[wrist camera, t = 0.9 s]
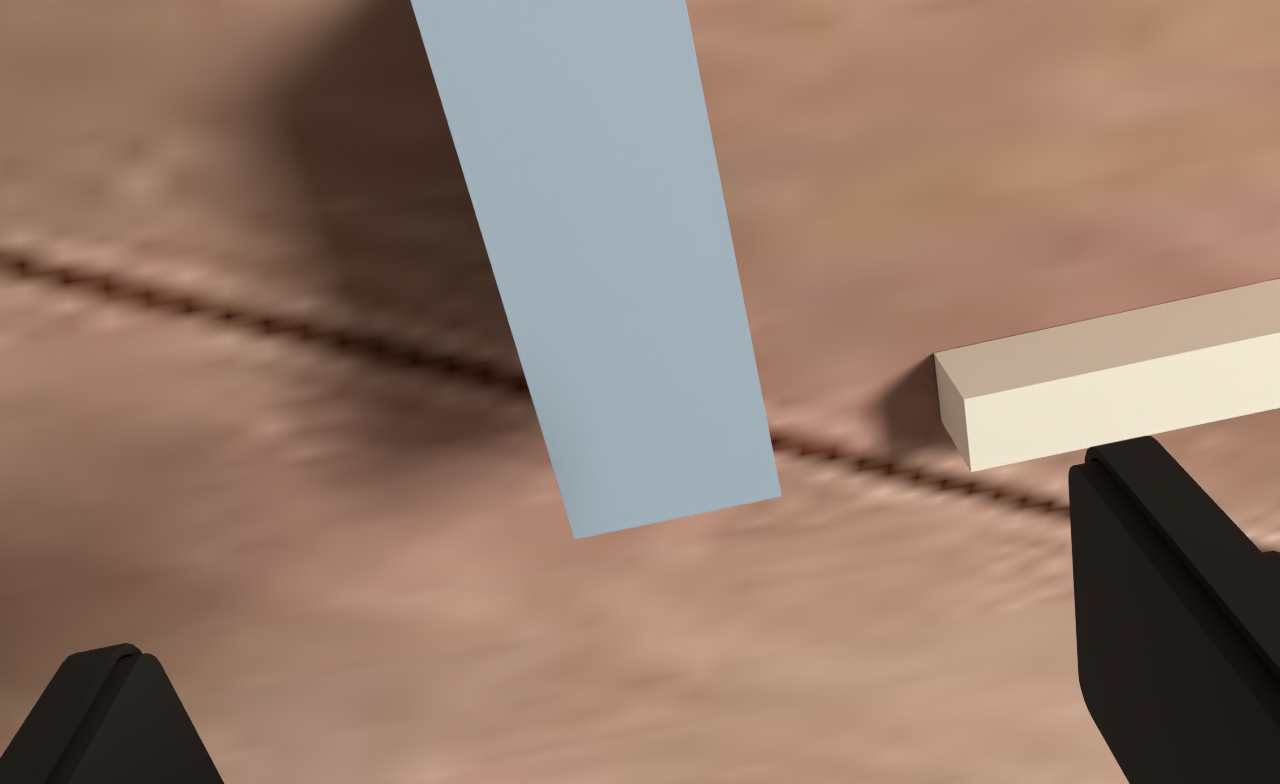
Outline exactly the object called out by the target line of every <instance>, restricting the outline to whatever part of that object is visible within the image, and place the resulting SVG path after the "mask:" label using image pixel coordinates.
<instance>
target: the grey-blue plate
mask: <svg viewBox="0 0 1280 784" xmlns="http://www.w3.org/2000/svg"><path fill="white" fill-rule="evenodd" d="M411 3H412V6H413V10H414V13H415V16H416V20H417V23H418V26H419V29H420V33H421V36H422V39H423V43H424V46H425V49H426V52H427V56H428V59H429V62H430V66H431V69H432V72H433V75H434V79H435V82H436V85H437V89H438V92H439V95H440V98H441V102H442V105H443V108H444V112H445V115H446V118H447V121H448V125H449V128H450V131H451V135H452V138H453V141H454V144H455V148H456V151H457V154H458V158H459V161H460V164H461V167H462V171H463V174H464V177H465V181H466V184H467V187H468V190H469V194H470V197H471V200H472V204H473V207H474V210H475V213H476V217H477V220H478V223H479V227H480V230H481V233H482V236H483V240H484V243H485V246H486V250H487V253H488V256H489V259H490V263H491V266H492V269H493V273H494V276H495V279H496V282H497V286H498V289H499V292H500V296H501V299H502V302H503V305H504V309H505V312H506V315H507V318H508V322H509V325H510V328H511V332H512V335H513V338H514V341H515V345H516V348H517V351H518V355H519V358H520V361H521V364H522V368H523V371H524V374H525V378H526V381H527V384H528V387H529V391H530V394H531V397H532V401H533V404H534V407H535V410H536V414H537V417H538V420H539V424H540V427H541V430H542V433H543V437H544V440H545V443H546V447H547V450H548V453H549V456H550V460H551V463H552V466H553V470H554V473H555V476H556V479H557V483H558V486H559V489H560V493H561V496H562V499H563V502H564V506H565V509H566V512H567V516H568V519H569V522H570V525H571V529H572V532H573V535H574V539H580V538H584V537H589V536H594V535H599V534H604V533H608V532H613V531H618V530H623V529H628V528H632V527H637V526H642V525H647V524H651V523H656V522H661V521H666V520H671V519H675V518H680V517H685V516H690V515H695V514H699V513H704V512H709V511H714V510H718V509H723V508H728V507H733V506H738V505H742V504H747V503H752V502H757V501H761V500H766V499H771V498H776V497H781V496H782V495H781V490H780V485H779V480H778V475H777V470H776V465H775V459H774V454H773V449H772V444H771V439H770V434H769V428H768V423H767V418H766V413H765V408H764V403H763V398H762V392H761V387H760V382H759V377H758V372H757V367H756V362H755V356H754V351H753V346H752V341H751V336H750V331H749V326H748V320H747V315H746V310H745V305H744V300H743V295H742V290H741V284H740V279H739V274H738V269H737V264H736V259H735V253H734V248H733V243H732V238H731V233H730V228H729V223H728V217H727V212H726V207H725V202H724V197H723V192H722V187H721V181H720V176H719V171H718V166H717V161H716V156H715V151H714V145H713V140H712V135H711V130H710V125H709V120H708V115H707V109H706V104H705V99H704V94H703V89H702V84H701V78H700V73H699V68H698V63H697V58H696V53H695V48H694V42H693V37H692V32H691V27H690V22H689V17H688V12H687V6H686V1H685V0H411Z"/></svg>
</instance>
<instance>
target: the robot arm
mask: <svg viewBox="0 0 1280 784" xmlns="http://www.w3.org/2000/svg"><path fill="white" fill-rule="evenodd" d="M1069 501H1070V520H1071V539H1072V559H1073V578H1074V597H1075V617H1076V636H1077V656H1078V674H1079V682H1080V687H1081V691H1082V694H1083V698H1084V701H1085V703H1086V706H1087V708H1088V710H1089V712H1090V714H1091V716H1092V718H1093V720H1094V722H1095V723H1096V725H1097V727H1098V729H1099V730H1100V732H1101V734H1102V736H1103V738H1104V739H1105V741H1106V743H1107V745H1108V746H1109V748H1110V750H1111V752H1112V753H1113V755H1114V757H1115V759H1116V760H1117V762H1118V764H1119V766H1120V767H1121V769H1122V771H1123V773H1124V775H1125V776H1126V778H1127V780H1128V782H1129V783H1130V784H1280V552H1276V551H1269V552H1264V553H1262V552H1261V551H1260V550H1259V549H1258V548H1257V547H1256V546H1255V545H1254V543H1253V542H1252V541H1251V540H1250V539H1249V538H1248V537H1247V536H1246V535H1245V534H1244V533H1243V532H1242V531H1241V530H1240V529H1239V527H1238V526H1237V525H1236V524H1235V523H1234V522H1233V521H1232V520H1231V519H1230V518H1229V517H1228V516H1227V515H1226V514H1225V513H1224V511H1223V510H1222V509H1221V508H1220V507H1219V506H1218V505H1217V504H1216V503H1215V502H1214V501H1213V500H1212V499H1211V498H1210V497H1209V496H1208V494H1207V493H1206V492H1205V491H1204V490H1203V489H1202V488H1201V487H1200V486H1199V485H1198V484H1197V483H1196V482H1195V481H1194V480H1193V478H1192V477H1191V476H1190V475H1189V474H1188V473H1187V472H1186V471H1185V470H1184V469H1183V468H1182V467H1181V466H1180V465H1179V464H1178V462H1177V461H1176V460H1175V459H1174V458H1173V457H1172V456H1171V455H1170V454H1169V453H1168V452H1167V451H1166V450H1165V449H1164V448H1163V446H1162V445H1161V444H1160V443H1159V442H1158V441H1157V440H1155V439H1154V438H1153V437H1151V436H1142V437H1137V438H1132V439H1127V440H1122V441H1117V442H1112V443H1107V444H1102V445H1097V446H1092V447H1090V448H1089V449H1088V450H1087V452H1086V456H1085V463H1084V464H1079V465H1074V466H1072V467H1071V468H1070V470H1069ZM0 784H224V782H223V780H222V778H221V776H220V775H219V773H218V771H217V769H216V767H215V765H214V763H213V761H212V760H211V758H210V756H209V754H208V752H207V750H206V748H205V746H204V744H203V743H202V741H201V739H200V737H199V735H198V733H197V731H196V729H195V727H194V726H193V724H192V722H191V720H190V718H189V716H188V714H187V712H186V710H185V709H184V707H183V705H182V703H181V701H180V699H179V697H178V695H177V693H176V692H175V690H174V688H173V686H172V684H171V682H170V680H169V678H168V676H167V675H166V673H165V671H164V669H163V667H162V665H161V663H160V662H159V661H158V659H157V658H156V657H155V656H153V655H152V654H147V653H145V654H142V652H141V651H140V650H139V649H138V648H137V647H135V646H134V645H133V644H127V643H124V644H119V645H114V646H109V647H104V648H99V649H94V650H89V651H84V652H79V653H75V654H73V655H70V656H68V658H67V659H66V660H65V661H64V662H63V663H62V664H61V666H60V667H59V669H58V671H57V672H56V674H55V675H54V677H53V678H52V680H51V681H50V683H49V684H48V686H47V687H46V689H45V690H44V692H43V694H42V695H41V697H40V698H39V700H38V701H37V703H36V704H35V706H34V707H33V709H32V710H31V712H30V714H29V715H28V717H27V718H26V720H25V721H24V723H23V724H22V726H21V727H20V729H19V730H18V732H17V733H16V735H15V737H14V738H13V740H12V741H11V743H10V744H9V746H8V747H7V749H6V750H5V752H4V753H3V755H2V757H1V758H0Z"/></svg>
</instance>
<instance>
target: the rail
mask: <svg viewBox="0 0 1280 784" xmlns="http://www.w3.org/2000/svg"><path fill="white" fill-rule="evenodd" d="M934 358H935V367H936V376H937V385H938V394H939V403H940V412H941V421H942V423H943V425H944V426H945V428H946V430H947V432H948V433H949V435H950V437H951V438H952V440H953V442H954V443H955V445H956V447H957V449H958V450H959V452H960V454H961V455H962V457H963V459H964V460H965V462H966V464H967V466H968V467H969V469H970V471H971V472H973V471H978V470H983V469H988V468H993V467H997V466H1002V465H1007V464H1012V463H1017V462H1021V461H1026V460H1031V459H1036V458H1040V457H1045V456H1050V455H1055V454H1060V453H1064V452H1069V451H1074V450H1079V449H1084V448H1088V447H1092V446H1097V445H1102V444H1107V443H1112V442H1117V441H1122V440H1127V439H1132V438H1136V437H1141V436H1146V435H1151V434H1156V433H1160V432H1165V431H1170V430H1175V429H1180V428H1184V427H1189V426H1194V425H1199V424H1204V423H1208V422H1213V421H1218V420H1223V419H1228V418H1232V417H1237V416H1242V415H1247V414H1252V413H1256V412H1261V411H1266V410H1271V409H1275V408H1280V279H1275V280H1270V281H1266V282H1261V283H1257V284H1252V285H1247V286H1243V287H1238V288H1233V289H1229V290H1224V291H1220V292H1215V293H1210V294H1206V295H1201V296H1196V297H1192V298H1187V299H1182V300H1178V301H1173V302H1169V303H1164V304H1159V305H1155V306H1150V307H1145V308H1141V309H1136V310H1132V311H1127V312H1122V313H1118V314H1113V315H1108V316H1104V317H1099V318H1094V319H1090V320H1085V321H1081V322H1076V323H1071V324H1067V325H1062V326H1057V327H1053V328H1048V329H1044V330H1039V331H1034V332H1030V333H1025V334H1020V335H1016V336H1011V337H1006V338H1002V339H997V340H993V341H988V342H983V343H979V344H974V345H969V346H965V347H960V348H956V349H951V350H946V351H942V352H937V353H934Z"/></svg>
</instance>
